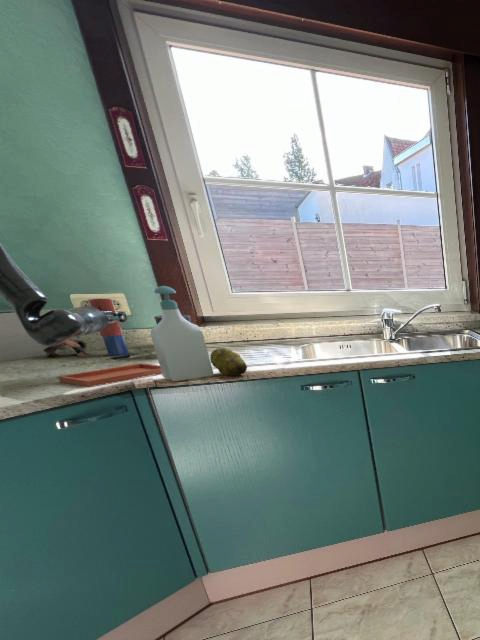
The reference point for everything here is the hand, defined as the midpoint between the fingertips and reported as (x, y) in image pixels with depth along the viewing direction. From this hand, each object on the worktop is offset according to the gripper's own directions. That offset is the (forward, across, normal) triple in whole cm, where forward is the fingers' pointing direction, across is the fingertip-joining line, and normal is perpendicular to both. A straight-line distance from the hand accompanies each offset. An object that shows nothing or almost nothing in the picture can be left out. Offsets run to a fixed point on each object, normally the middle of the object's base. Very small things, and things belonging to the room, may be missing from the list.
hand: (108, 314), depth 157 cm
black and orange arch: (+23, +21, +17) cm, 35 cm away
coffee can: (+23, -10, +17) cm, 31 cm away
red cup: (-3, 0, +6) cm, 7 cm away
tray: (-14, -2, +18) cm, 22 cm away
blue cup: (+21, +8, +17) cm, 28 cm away
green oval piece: (-18, -32, +18) cm, 41 cm away
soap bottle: (-19, -21, +18) cm, 33 cm away
